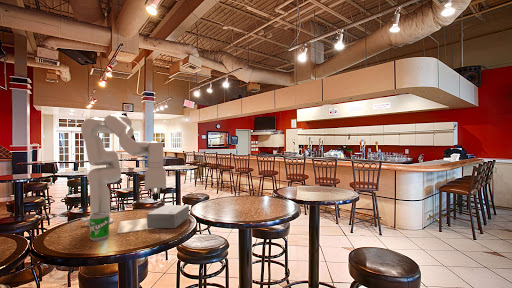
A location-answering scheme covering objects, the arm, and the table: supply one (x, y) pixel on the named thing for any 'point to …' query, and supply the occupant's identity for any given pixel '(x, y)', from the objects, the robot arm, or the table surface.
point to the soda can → (99, 226)
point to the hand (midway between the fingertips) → (155, 200)
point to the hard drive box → (167, 216)
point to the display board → (133, 226)
